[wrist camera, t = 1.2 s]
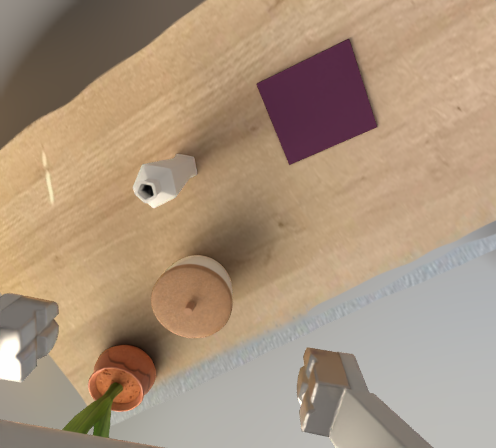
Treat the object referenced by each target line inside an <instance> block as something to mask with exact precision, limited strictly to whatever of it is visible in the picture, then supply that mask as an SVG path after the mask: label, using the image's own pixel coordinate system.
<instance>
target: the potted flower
mask: <svg viewBox="0 0 496 448" xmlns="http://www.w3.org/2000/svg"><path fill="white" fill-rule="evenodd" d="M155 379H156V370H155V367H154V364H153V361H152V360H151V358H150V357H149V356H148V354H146V353H145V352H144V351H143V350H141V349H139V348H137V347H134V346H130V345H119V346H114V347H111V348H109V349H107V350H105V351H104V352H103V353H102V354H101V355H100V356H99V358H98V360H97V362H96V364H95V367H94V373H93V374H92V375H91V377H90V379H89V382H88V387H89V392H90V394H91V396H92V397H93V399H94V400H95V401H94V402H93V403H91V404H90V405H89V406H87V407H86V408H85V409H83V410H82V411H81V412H80V413H78V414H77V415H76V416H75V417H74V418H73V419H72V420H71V421H70V422H69V423H68V424H67V425H66V426H65V427H64V428H63V429H62V430H65V431H70V432H76V433H82V434H87V433H88V431H89V430H90V429H91V428H92V427H93V426H94V432H93V435H94V436H99V437H105V438H109V429H110V417H111V410H113V411H128V410H132V409H134V408H136V407H137V406H138V405H139V404H140V403H141V402H142V400H143V397H144V395H145V394H147V393H148V392H149V390H150V389H151V387H152V385H153V384H154V382H155Z"/></svg>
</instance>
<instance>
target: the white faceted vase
mask: <svg viewBox="0 0 496 448" xmlns="http://www.w3.org/2000/svg"><path fill="white" fill-rule="evenodd" d="M196 175H197V169H196V164H195V159H194V157H193V156H188V155H183V154H176V155H175V157H174V158H172V159H167V160H162V161H157V162H152V163H147V164H143V165H142V166H141V168H140V171H139V173H138V176H137V178H136V181H135V183H134V185H133V190H134V191H135V192H134V193H135V195H136V196H137V197H138V198H140V199H141V200H142V201H143V202H144V203H148V204H149V205H150V206H151V207H153V208H156V207H158V206H160V205H162V204H164V203H166V202H168V201H170V200H172V199H174V198H175V197H177V195H178V194H179V192H180V191H181V190H182V188H183V187H184V185H185V184H186V183H187V181H188V180H189V179H190V178H192V177H194V176H196Z"/></svg>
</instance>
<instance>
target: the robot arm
mask: <svg viewBox="0 0 496 448" xmlns="http://www.w3.org/2000/svg"><path fill="white" fill-rule="evenodd" d="M58 314H59V310H58V304H57V303H56V302H54V301H49V300H44V299H39V298H34V297H29V296H23V295H18V294H13V293H7V294H4V295H2V296H1V297H0V379H3V380H10V381H17V382H23V381H24V379H25V378H26V377H27V376H28V375H29V374H30V373H31V372H32V371H33V370H34V369H35V367H36V366H37V359H39V358H42V357H44V356H46V355H47V354H48V353H49V352H50V351H51V350H52V348H53V346H54V344H55V342H56V340H57V337H58V333H59V325H58V324H57V322H56V321H55V320H54V318H55V317H56V316H57V315H58ZM303 359H304V366H303V367H302V368H300V371H299V375H298V381H297V398H298V401H299V402H300V403H301V407H300V411H299V414H300V422H301V430H302V432H308V433H312V434H317V435H322V436H327V437H330V440H331V441H332V443H333V444H334V446H335V447H336V448H433V447H432V446H431V445H430V444H429V443H428V442H426V441H425V440H424V439H423V438H422V437H421V436H420V435H419V434H418V433H417V432H415V431H414V430H413V429H412V428H411V427H410V426H409V425H408V424H407V423H406V422H405V421H403V420H402V419H401V418H400V417H399V416H398V415H397V414H396V413H395V412H394V411H392V410H391V409H390V408H389V407H388V406H387V405H386V404H385V403H384V402H383V401H381V400H380V399H379V398H378V397H377V396H376V395H375V394H373V393H369V391H368V388H367V386H366V383H365V381H364V378H363V376H362V373H361V371H360V368H359V366H358V363H357V361H356V358H355V356H354V355H353V354H348V353H341V352H332V351H326V350H320V349H314V348H307V349H306V350H305V353H304V356H303ZM0 448H163V447H157V446H151V445H146V444H140V443H134V442H128V441H123V440H117V439H111V438H105V437H99V436H94V435H88V434H82V433H76V432H70V431H65V430H59V429H53V428H47V427H41V426H36V425H30V424H24V423H18V422H13V421H7V420H1V419H0Z"/></svg>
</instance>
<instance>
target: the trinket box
mask: <svg viewBox="0 0 496 448" xmlns="http://www.w3.org/2000/svg"><path fill="white" fill-rule="evenodd" d="M232 300H233V288H232V283H231V280H230V277H229V275H228V273H227V271H226V270H225V269H224V267H223V266H222V265H221V264H220V263H218V262H217V261H216V260H214V259H212V258H209V257H206V256H201V255H193V256H187V257H184V258H182V259H179V260H178V261H176V262H175V263H173V264H172V265H171V266H170V267H169V268H167V269H166V271H165V272H164V273H163V274H162V275H161V276H160V278H159V279H158V280H157V282H156V283H155V285H154V287H153V290H152V294H151V305H152V309H153V312H154V314H155V316H156V317H157V319H158V321H159V322H160V323H161V324H162V325H163V326H164V327H165V328H166V329H168V330H169V331H171V332H173V333H175V334H176V335H179V336H182V337H187V338H202V337H207V336H210V335H212V334H214V333H216V332H218V331H219V330H220V329H222V328H223V327H224V325H225V324H226V323H227V321H228V320H229V317H230V315H231V311H232Z"/></svg>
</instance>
